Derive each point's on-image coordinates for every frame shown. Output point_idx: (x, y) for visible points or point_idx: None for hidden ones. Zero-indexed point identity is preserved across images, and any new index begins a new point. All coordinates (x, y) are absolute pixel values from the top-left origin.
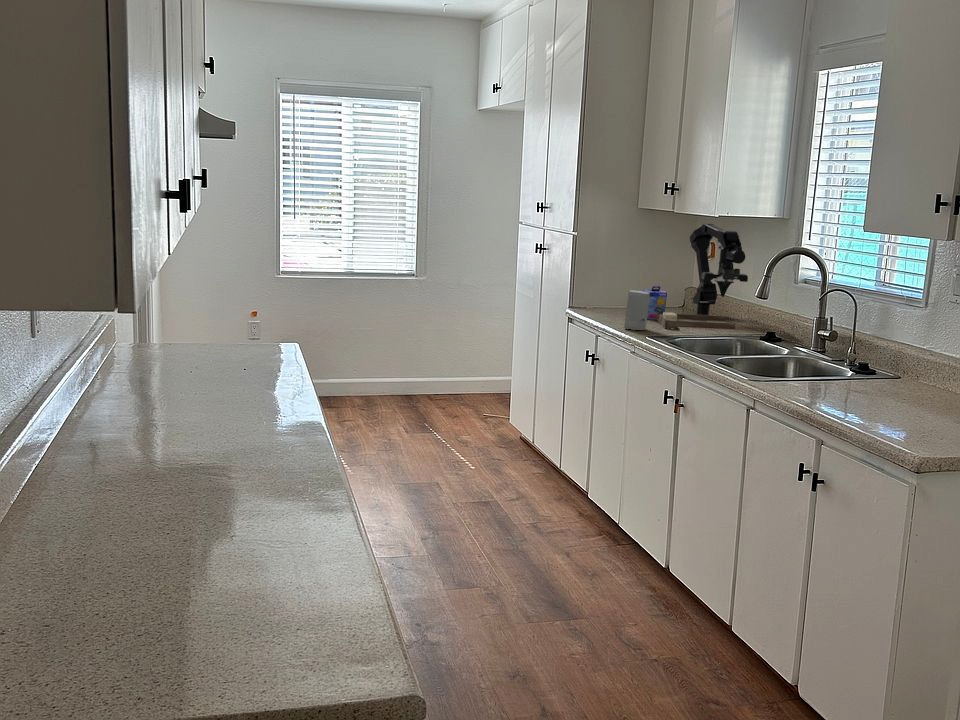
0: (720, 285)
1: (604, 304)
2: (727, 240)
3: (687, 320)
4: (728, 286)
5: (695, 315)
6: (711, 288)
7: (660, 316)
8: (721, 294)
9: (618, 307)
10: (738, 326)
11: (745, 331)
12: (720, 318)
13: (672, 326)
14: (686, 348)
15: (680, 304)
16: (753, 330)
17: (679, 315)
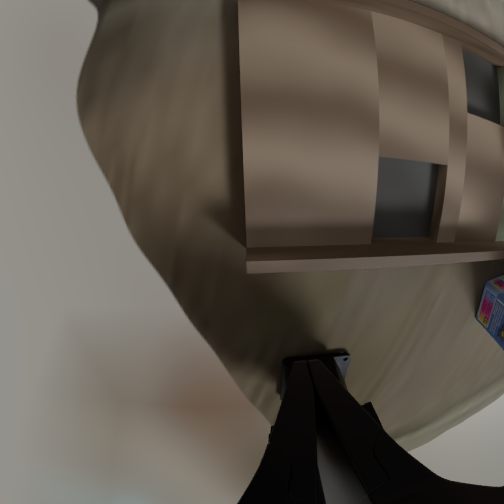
0: (422, 476)
1: (481, 408)
2: None
3: (464, 201)
4: (250, 497)
5: (431, 252)
6: (321, 494)
7: None
8: (333, 380)
9: (479, 396)
10: (167, 191)
11: (160, 38)
12: (276, 252)
13: None
14: None
15: None
16: (104, 91)
17: (487, 248)
